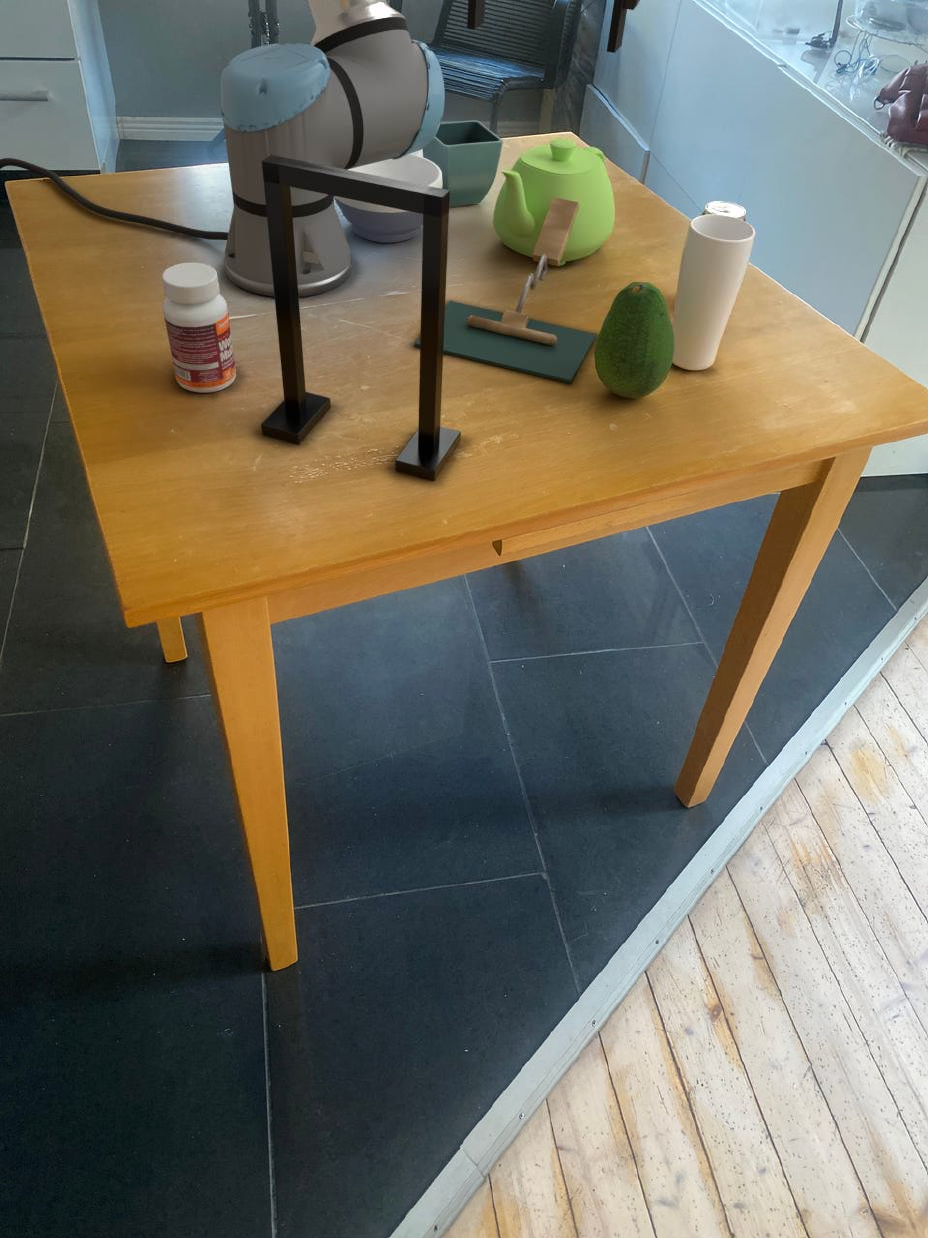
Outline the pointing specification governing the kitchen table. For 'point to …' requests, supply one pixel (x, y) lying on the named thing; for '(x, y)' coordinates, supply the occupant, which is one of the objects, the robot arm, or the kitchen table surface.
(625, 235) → the kitchen table surface
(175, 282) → the pill bottle
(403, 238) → the bowl
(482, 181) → the flower pot
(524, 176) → the teapot
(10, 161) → the robot arm
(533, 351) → the mat
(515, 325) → the hanger
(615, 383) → the fruit
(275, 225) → the rack
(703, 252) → the drinking glass
